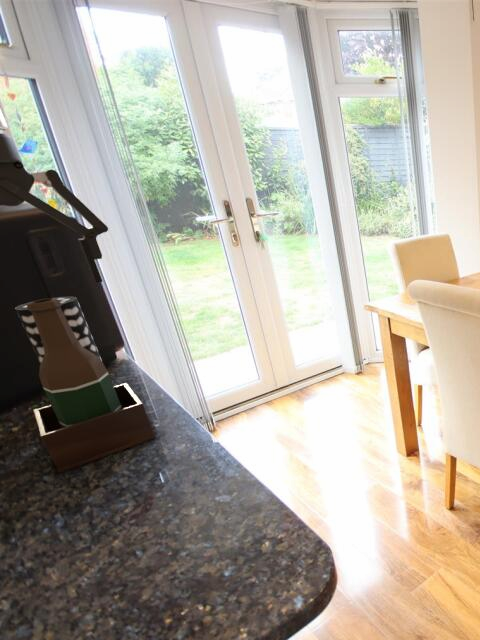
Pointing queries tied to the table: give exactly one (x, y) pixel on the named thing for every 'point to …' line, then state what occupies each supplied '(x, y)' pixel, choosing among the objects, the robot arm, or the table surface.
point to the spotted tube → (74, 319)
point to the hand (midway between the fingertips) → (38, 291)
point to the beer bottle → (70, 369)
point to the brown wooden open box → (95, 432)
